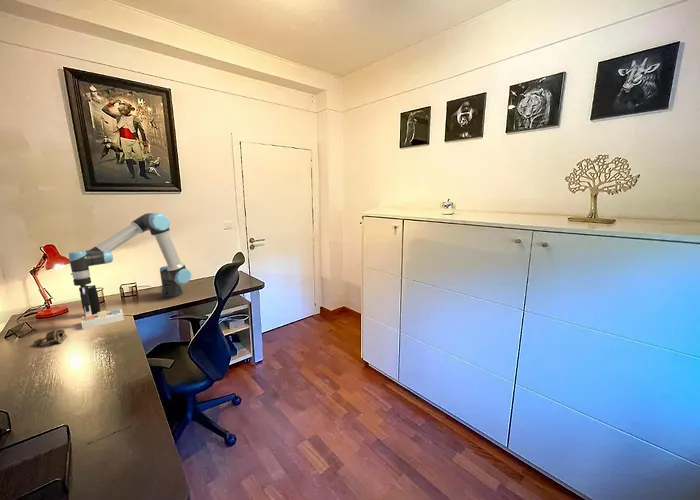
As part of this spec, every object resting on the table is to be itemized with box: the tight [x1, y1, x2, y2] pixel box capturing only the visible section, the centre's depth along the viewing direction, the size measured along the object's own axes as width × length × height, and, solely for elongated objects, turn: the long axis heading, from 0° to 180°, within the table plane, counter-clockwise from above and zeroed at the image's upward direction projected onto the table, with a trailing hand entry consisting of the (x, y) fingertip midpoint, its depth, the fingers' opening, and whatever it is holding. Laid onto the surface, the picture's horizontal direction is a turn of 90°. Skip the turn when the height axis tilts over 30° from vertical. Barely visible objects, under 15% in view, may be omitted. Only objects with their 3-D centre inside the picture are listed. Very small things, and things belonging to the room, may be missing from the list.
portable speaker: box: [79, 284, 101, 316], centre depth 190 cm, size 8×9×19 cm
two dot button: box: [97, 310, 108, 317], centre depth 179 cm, size 4×4×3 cm
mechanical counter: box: [33, 328, 68, 347], centre depth 153 cm, size 7×13×10 cm
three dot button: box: [83, 315, 95, 320], centre depth 176 cm, size 4×4×3 cm
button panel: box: [81, 308, 125, 330], centre depth 180 cm, size 19×12×4 cm, turn 131°
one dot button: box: [109, 307, 120, 315], centre depth 183 cm, size 4×4×3 cm
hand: (88, 316), depth 175 cm, fingers closed
